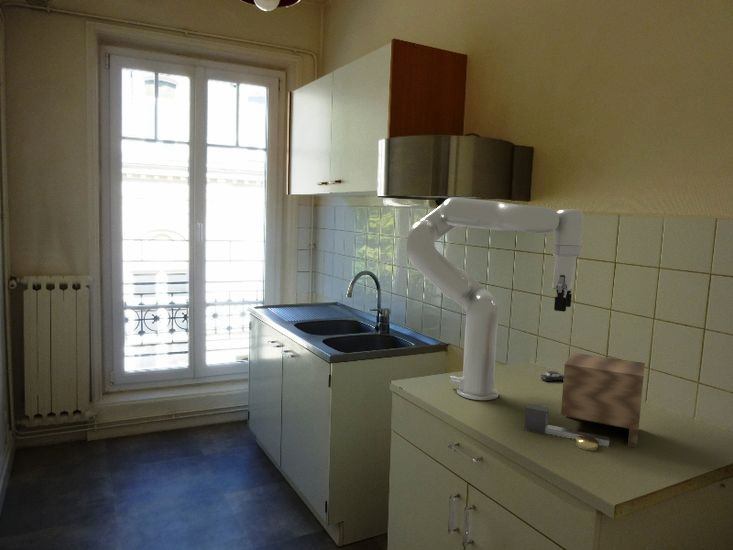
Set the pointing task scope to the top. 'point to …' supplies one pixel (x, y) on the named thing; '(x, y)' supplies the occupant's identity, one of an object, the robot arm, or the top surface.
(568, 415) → the cabinet
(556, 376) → the toy car
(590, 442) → the token
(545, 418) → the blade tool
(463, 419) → the top surface
